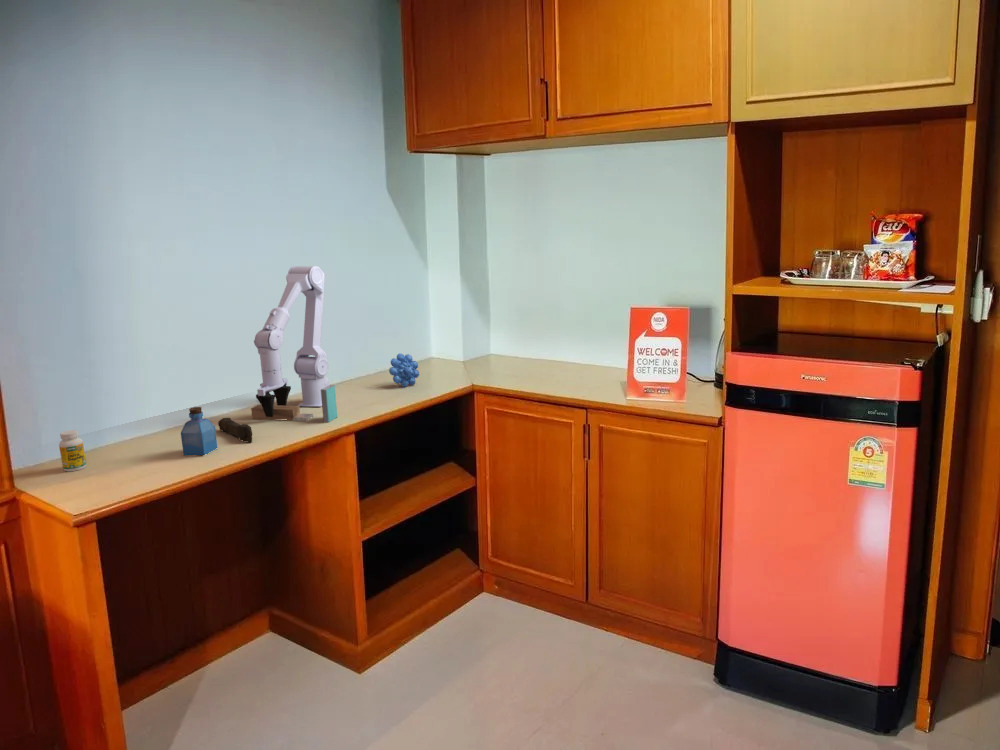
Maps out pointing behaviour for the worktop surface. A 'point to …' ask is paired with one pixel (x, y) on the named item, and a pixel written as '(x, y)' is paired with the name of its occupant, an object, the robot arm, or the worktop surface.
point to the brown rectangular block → (281, 413)
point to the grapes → (404, 370)
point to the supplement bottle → (72, 451)
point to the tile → (329, 403)
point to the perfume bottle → (198, 434)
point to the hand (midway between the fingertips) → (275, 413)
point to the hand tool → (236, 429)
